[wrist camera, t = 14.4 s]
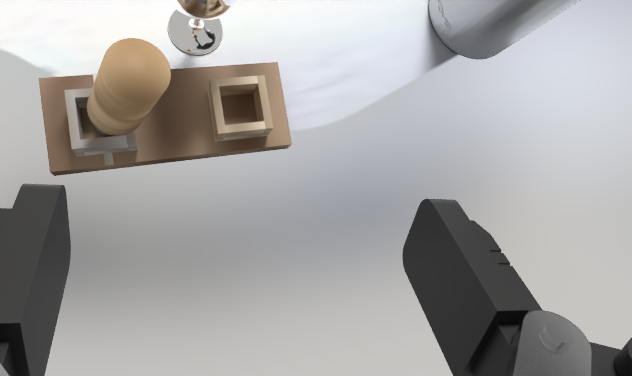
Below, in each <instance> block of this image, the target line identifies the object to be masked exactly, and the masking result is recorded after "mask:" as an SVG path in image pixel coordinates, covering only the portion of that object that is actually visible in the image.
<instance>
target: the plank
mask: <svg viewBox="0 0 632 376" xmlns="http://www.w3.org/2000/svg"><path fill="white" fill-rule="evenodd" d="M170 70H171V78H170V83H169V85H168V87H167V89H166V90H165V92H164V93H163V94H162V96H161V97H160V98H159V100H158V101H157V103H156V104H155V105H154V107H153V108H152V109H151V111H150V112H149V113H148V115H147V116H146V117H145V119H144V120H143V121H142V123H141V124H140V125H139V127H138V128H137V129H136V130H134V131H133V132H131V133H129V134H126V135H120V136H116V135H113V136H112V137H103V136H100V135H99V134H98V133H97V132H96V130H95V125H94V124H93V123H92V122H91V120H90V118H89V116H88V113H87V101H88V98H89V95H90V93H91V90H92V87H93V85H94V82H95V79H96V77H97V74H93V75H81V76H66V77H52V78H39V84H40V93H41V101H42V109H43V117H44V125H45V133H46V141H47V149H48V158H49V165H50V172H51V173H52V174H53V175H54V176H56V175H64V174H73V173H82V172H90V171H98V170H106V169H116V168H124V167H133V166H140V165H149V164H157V163H166V162H175V161H184V160H192V159H201V158H209V157H218V156H226V155H233V154H243V153H251V152H260V151H269V150H277V149H286V148H288V147H289V146H290V145H291V144H292V143H291V137H290V131H289V126H288V120H287V114H286V108H285V103H284V97H283V91H282V85H281V79H280V74H279V68H278V62H273V63H259V64H244V65H229V66H214V67H199V68H185V69H170Z"/></svg>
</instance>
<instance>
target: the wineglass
mask: <svg viewBox="0 0 632 376" xmlns="http://www.w3.org/2000/svg"><path fill="white" fill-rule="evenodd" d="M239 1H240V0H169V2H170V3H171V4H172V5H173V7H174V8H176V10H175V11H174V12H173V13H172V15H171V17H170V18H169V22H168V32H169V36H170V38H171V40H172V41H173V43H174V44H175V45H176V46H177V47H178V48H179V49H181V50H182V51H184V52H186V53H189V54H193V55H202V54H207V53H209V52H211V51H213V50H214V49H216V47H217V46H218V45H219V44H220V42H221V40H222V36H223V28H222V24H221V21H220V19H219V18H221V17H223V16H225V15H227V14H228V13H229V12H231V11H232V10H233V9H234V8H235V7H236V5H237V4H238V2H239Z"/></svg>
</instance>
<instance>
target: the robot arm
mask: <svg viewBox="0 0 632 376" xmlns="http://www.w3.org/2000/svg"><path fill="white" fill-rule="evenodd" d="M578 1H580V0H430V1H429V11H430V18H431V21H432V24H433V27H434V29H435V31H436V32H437V34H438V36H439V37H440V38H441V40H442V41H443V42H444V43H445V44H446V45H447V46H448V47H449V48H450V49H451V50H453V51H454V52H456V53H458V54H459V55H462V56H464V57H468V58H472V59H486V58H489V57H492V56H495V55H496V54H498V53H499V52H501V51H502V50H504V49H506V48H507V47H508V46H510V45H512V44H513V43H515V42H517V41H518V40H520V39H521V38H523V37H524V36H526V35H528V34H529V33H530V32H532V31H533V30H535V29H536V28H538V27H540V26H541V25H543V24H544V23H546V22H547V21H549V20H550V19H552V18H554V17H555V16H557V15H558V14H560V13H561V12H563V11H564V10H566V9H567V8H569V7H570V6H572V5H574V4H575V3H577V2H578ZM70 248H71V245H70V232H69V221H68V211H67V199H66V191H65V187H64V185H43V184H23V185H22V186H21V188H20V190H19V193H18V195H17V198H16V200H15V203H14V205H13V208H12V209H2V208H0V376H44V375H45V371H46V366H47V362H48V358H49V353H50V348H51V345H52V340H53V336H54V332H55V327H56V323H57V319H58V314H59V310H60V305H61V301H62V297H63V293H64V288H65V284H66V279H67V275H68V271H69V265H70V251H71V249H70ZM403 265H404V269H405V272H406V274H407V276H408V278H409V281H410V283H411V284H412V287H413V289H414V291H415V294H416V295H417V298H418V300H419V302H420V304H421V307H422V309H423V311H424V313H425V315H426V317H427V320H428V322H429V324H430V326H431V328H432V331H433V333H434V335H435V337H436V339H437V341H438V343H439V346H440V348H441V350H442V352H443V354H444V357H445V359H446V361H447V363H448V365H449V367H450V370H451V372H452V374H453V376H632V338H631V339H630V340H629V341H628V342H627V344H626V345H625V346H624V348H623V349H622V350H620V349H616V348H612V347H607V346H604V345H599V344H595V343H591V342H589V341H588V340H587V338H586V336H585V335H584V334H583V332H582V331H581V330H580V329H579V328H578V327H577V326H576V325H574V324H573V323H572V322H570V321H569V320H567V319H566V318H564V317H562V316H560V315H558V314H555V313H552V312H549V311H543V310H542V309H541V307H540V306H539V304H538V303H537V301H536V300H535V298H534V297H533V296H532V294H531V293H530V291H529V290H528V288H527V287H526V285H525V284H524V282H523V281H522V280H521V278H520V277H519V275H518V274H517V272H516V271H515V269H514V268H513V267H512V266H510V262H509V261H508V260H507V258H506V257H505V255H504V254H503V253H501V249H500V248H499V246H498V245H497V243H496V242H495V240H494V239H493V238H492V236H491V235H490V234H489V233H488V232H487V231H486V230H484V229H483V228H482V227H481V226H480V225H478V224H477V223H476V222H475V221H470V220H469V218H468V217H467V215H466V214H465V212H464V211H463V209H462V208H461V206H460V205H459V204H458V202H457V201H455V200H441V199H424V200H423V201H422V202H421V203H420V205H419V208H418V210H417V213H416V215H415V218H414V221H413V224H412V226H411V229H410V231H409V234H408V237H407V239H406V242H405V245H404V248H403Z"/></svg>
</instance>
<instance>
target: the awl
mask: <svg viewBox="0 0 632 376" xmlns="http://www.w3.org/2000/svg"><path fill="white" fill-rule="evenodd" d="M170 78H171V70H170V66H169V63H168V61H167V59H166V57H165V56H164V54H163V53H162V52H161V51H160V50H159V49H158V48H157V47H156V46H154V45H153V44H151V43H149V42H147V41H144V40H141V39H135V38H128V39H123V40H120V41H118V42H116V43H114V44H113V45H112V46H110V47H109V49H108V50H107V51H106V53H105V55H104V58H103V60H102V63H101V66H100V69H99V71H98V74H97V77H96V79H95V82H94V85H93V87H92V90H91V93H90V95H89V98H88V101H87V113H88V116H89V118H90V120H91V122H92V123H93V124H94V125H95V130H96V132H97V133H98V134H99V135H100V136H103V137H112V136H113V135H116V136H120V135H126V134H129V133H131V132H133V131H134V130H136V129H137V128H138V127H139V125H140V124H141V123H142V121H143V120H144V119H145V117H146V116H147V115H148V113H149V112H150V111H151V109H152V108H153V107H154V105H155V104H156V103H157V101H158V100H159V98H160V97H161V96H162V94H163V93H164V92H165V90H166V89H167V87H168V85H169V83H170Z"/></svg>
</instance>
